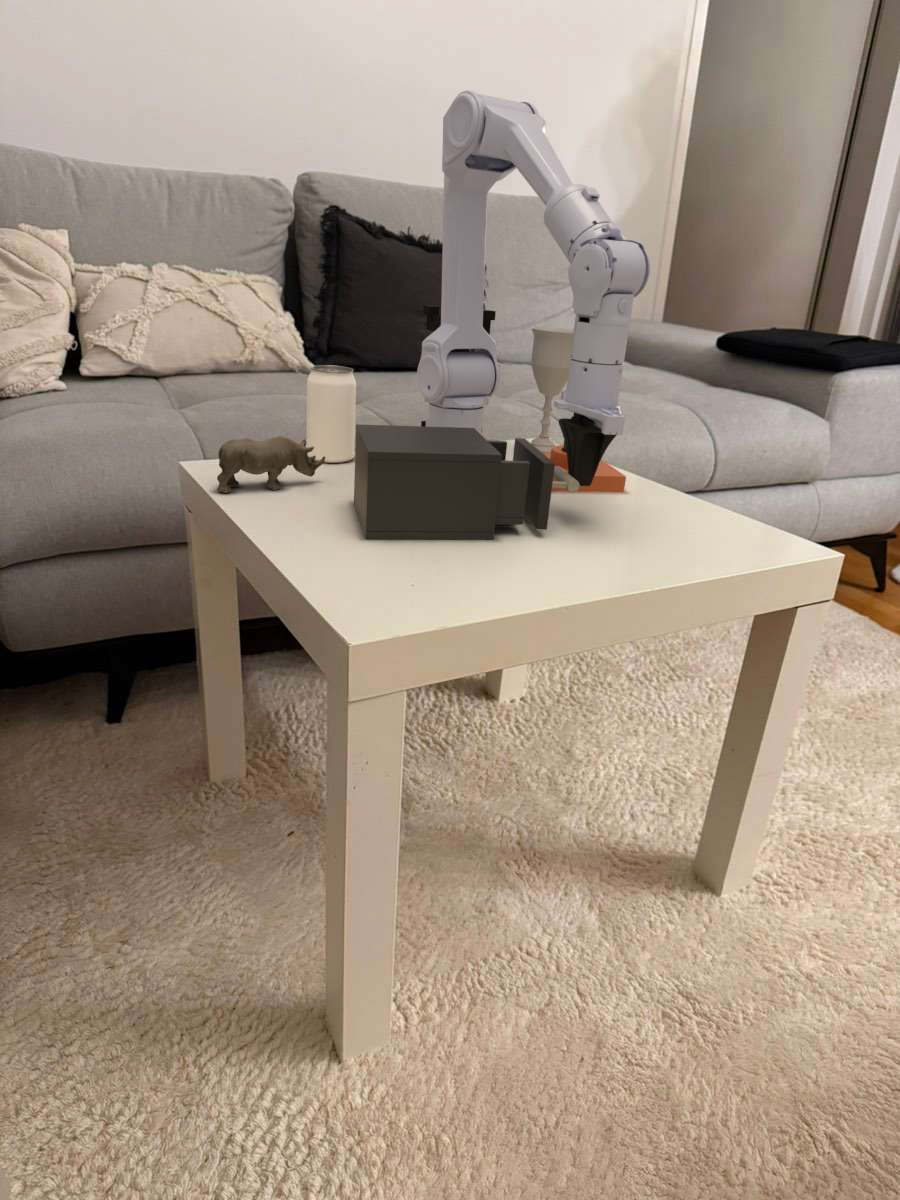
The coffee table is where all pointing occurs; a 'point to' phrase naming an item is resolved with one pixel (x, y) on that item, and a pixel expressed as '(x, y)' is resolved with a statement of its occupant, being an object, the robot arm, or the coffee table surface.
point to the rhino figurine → (263, 460)
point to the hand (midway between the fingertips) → (580, 484)
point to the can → (331, 413)
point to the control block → (602, 481)
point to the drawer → (527, 484)
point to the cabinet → (425, 482)
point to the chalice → (550, 373)
